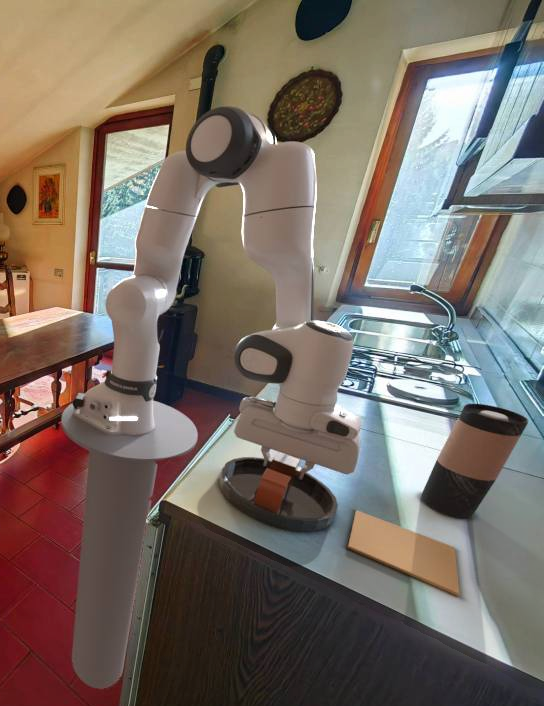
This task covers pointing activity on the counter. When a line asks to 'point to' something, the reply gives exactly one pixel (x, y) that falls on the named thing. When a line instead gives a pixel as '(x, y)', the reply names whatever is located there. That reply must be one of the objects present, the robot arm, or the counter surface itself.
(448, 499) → the travel mug
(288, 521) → the pan
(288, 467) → the walnut block
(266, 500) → the terracotta block
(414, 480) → the counter surface
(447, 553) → the mat
